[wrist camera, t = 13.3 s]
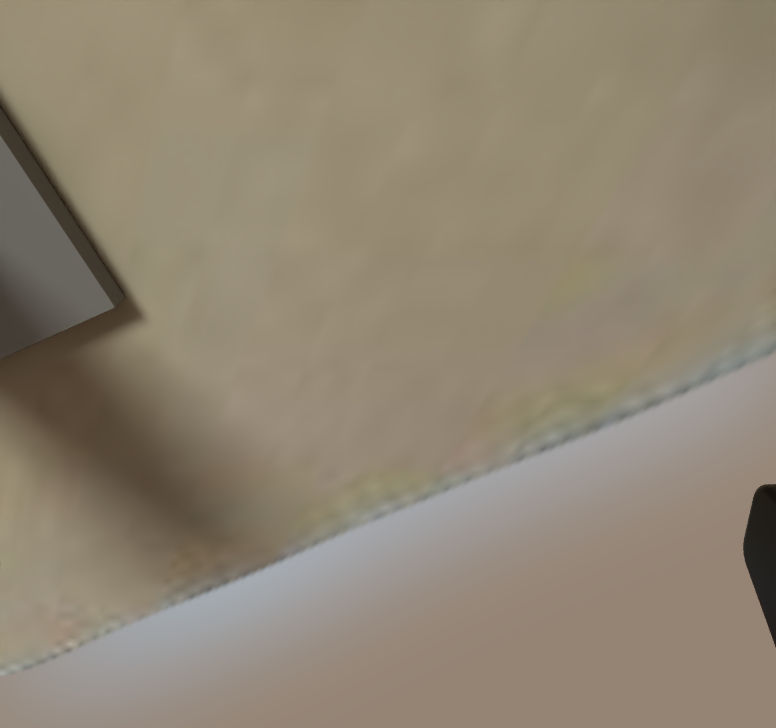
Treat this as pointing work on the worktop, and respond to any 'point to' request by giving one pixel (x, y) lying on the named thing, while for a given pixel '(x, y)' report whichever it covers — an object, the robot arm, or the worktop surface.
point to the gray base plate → (42, 255)
